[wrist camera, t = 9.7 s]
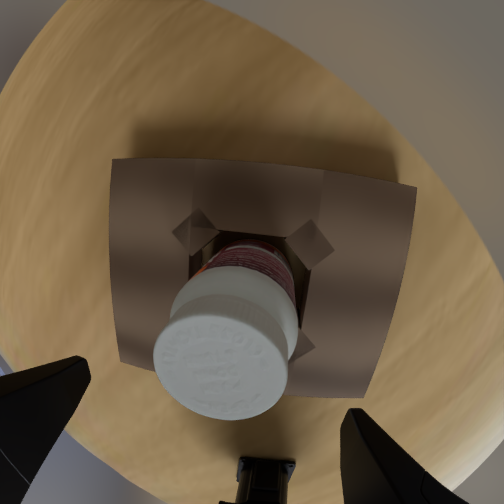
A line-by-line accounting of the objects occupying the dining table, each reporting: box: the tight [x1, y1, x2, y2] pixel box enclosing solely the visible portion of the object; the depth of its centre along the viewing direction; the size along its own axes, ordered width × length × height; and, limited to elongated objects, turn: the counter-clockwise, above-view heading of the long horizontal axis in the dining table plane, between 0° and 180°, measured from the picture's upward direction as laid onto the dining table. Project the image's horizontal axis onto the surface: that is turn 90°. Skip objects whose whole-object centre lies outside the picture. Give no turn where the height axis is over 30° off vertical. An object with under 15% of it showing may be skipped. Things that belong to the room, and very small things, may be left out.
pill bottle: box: [153, 239, 298, 420], centre depth 15 cm, size 6×6×11 cm
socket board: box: [109, 158, 417, 398], centre depth 19 cm, size 16×20×3 cm
